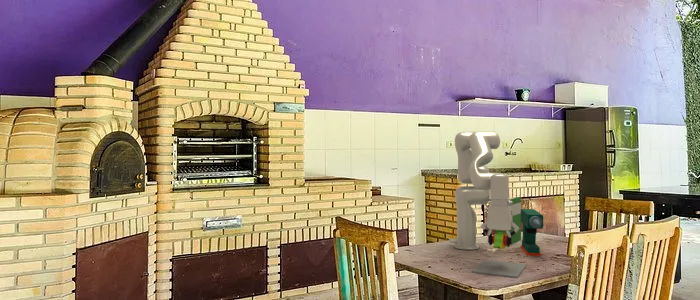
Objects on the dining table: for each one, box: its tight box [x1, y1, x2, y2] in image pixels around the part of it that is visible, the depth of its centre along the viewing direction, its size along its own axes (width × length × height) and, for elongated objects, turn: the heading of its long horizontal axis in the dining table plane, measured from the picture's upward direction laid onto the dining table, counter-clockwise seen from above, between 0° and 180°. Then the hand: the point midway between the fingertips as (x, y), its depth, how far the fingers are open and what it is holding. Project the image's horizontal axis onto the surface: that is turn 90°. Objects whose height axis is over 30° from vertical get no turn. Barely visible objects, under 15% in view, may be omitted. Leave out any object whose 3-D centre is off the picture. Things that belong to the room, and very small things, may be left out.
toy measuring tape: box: [486, 232, 508, 254], centre depth 197 cm, size 6×19×7 cm, turn 143°
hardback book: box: [495, 196, 522, 245], centre depth 258 cm, size 18×7×24 cm, turn 141°
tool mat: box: [471, 259, 527, 279], centre depth 199 cm, size 18×22×1 cm
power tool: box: [520, 208, 544, 257], centre depth 226 cm, size 32×7×20 cm, turn 168°
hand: (499, 245), depth 199 cm, fingers closed on toy measuring tape, 6 cm apart
